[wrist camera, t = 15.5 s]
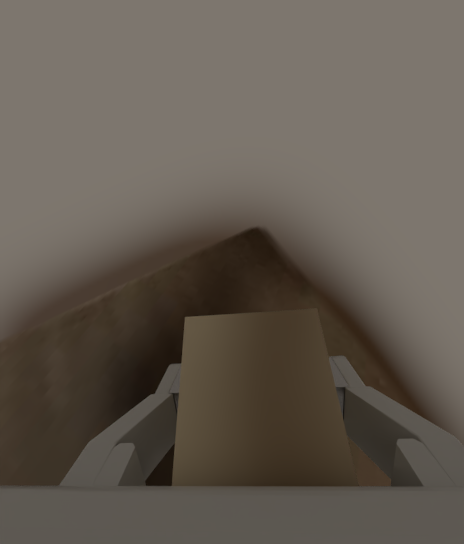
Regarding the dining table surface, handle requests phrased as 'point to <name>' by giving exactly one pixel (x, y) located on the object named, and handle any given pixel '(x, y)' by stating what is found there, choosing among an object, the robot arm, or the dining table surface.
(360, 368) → the dining table surface
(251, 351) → the tan tall wooden block
